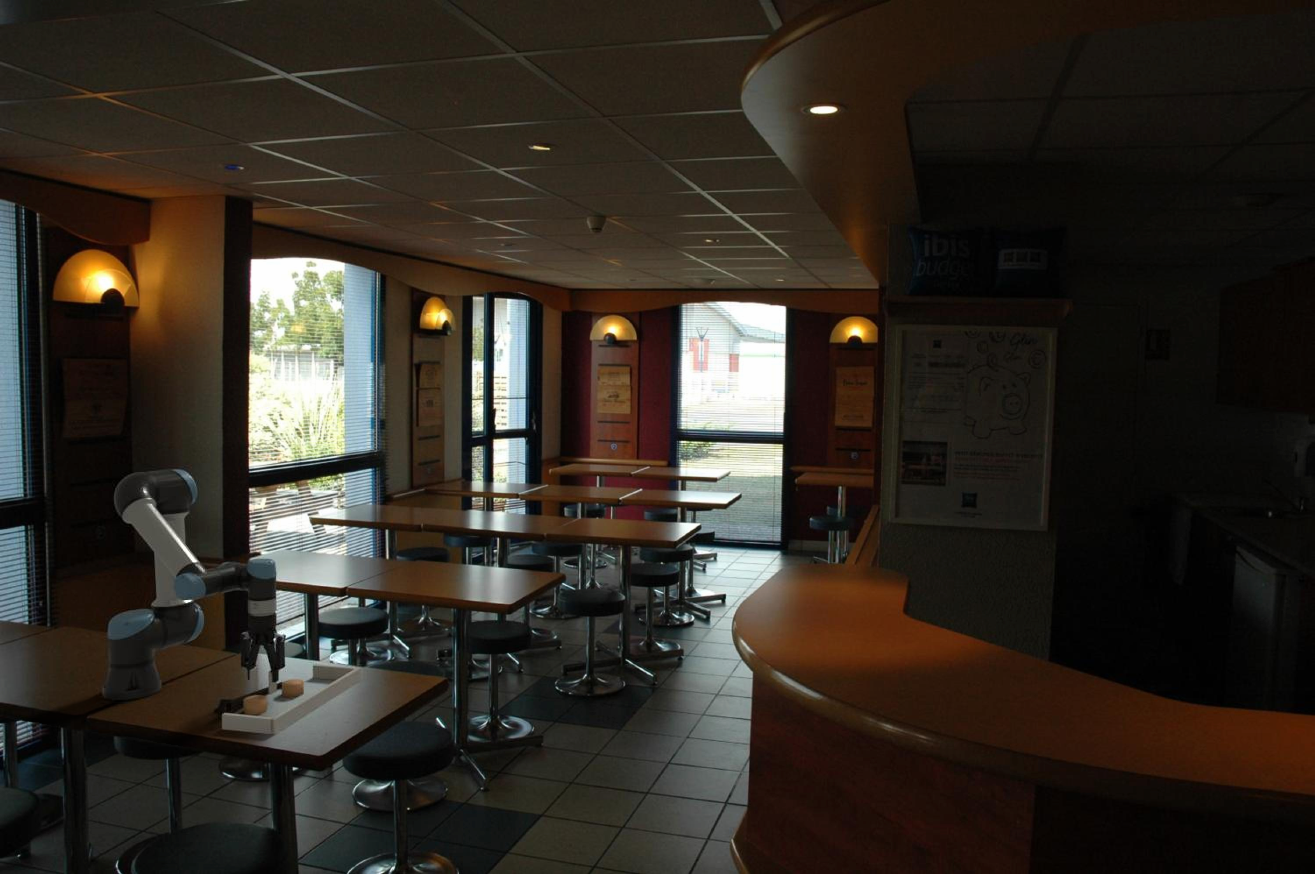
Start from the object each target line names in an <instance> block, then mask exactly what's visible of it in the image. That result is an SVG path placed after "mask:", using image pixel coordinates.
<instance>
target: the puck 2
mask: <svg viewBox="0 0 1315 874" xmlns="http://www.w3.org/2000/svg"><path fill="white" fill-rule="evenodd" d="M282 682H283V683H282V688H281V696H282V698H287V699H288V698H289V699H291V698H292V697H293V698H296V697H297V698H298V697H300V696H301V697H302V696H303V694H304V693H305V689H304V688H305V687H304V686H305V685H304V680H303V679H299V678H298V679H297V678H296V679H295V678H294V679H287V680H285V681H282Z"/></svg>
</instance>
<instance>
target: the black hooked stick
mask: <svg viewBox="0 0 1315 874" xmlns="http://www.w3.org/2000/svg"><path fill="white" fill-rule="evenodd" d="M283 682H284V681H281V682H277V690H280V689H282V683H283ZM254 695H263V696H266V695H269V686H267V687H264V688H261V689H258V690H256V691H254V692H252V693H250V692H249V693H246V694H244V695H241V696H239V697H235V698H232V699H231V698H230V699H229V698H228V699H227V698H226V699H225V698H223V699H222V698H221V699H220V701H219V702H218V703H219V704H218V706H217V707H216V708H214V710H213V712H212V713H213V714H218V715H219V717H220V718H221V719H222V714H224V713H231V714H233V713H234V712H235V711H234V710H237V709H238V708H240V707H243V706H244V705H243V700H244V699H245V698H247V697H250V696H254Z"/></svg>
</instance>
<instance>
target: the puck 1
mask: <svg viewBox="0 0 1315 874" xmlns="http://www.w3.org/2000/svg"><path fill="white" fill-rule="evenodd" d="M242 706H243V715H251V716H258V715H261V714H263V713H266V712H267V711H268V697H267V696H266V695H264V696H263V695H254V696H250V697H247V698H245V699H244V700H243V705H242Z"/></svg>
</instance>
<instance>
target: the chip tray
mask: <svg viewBox="0 0 1315 874" xmlns="http://www.w3.org/2000/svg"><path fill="white" fill-rule="evenodd" d="M361 671H362V669H361V667H353V666H342V665H341V666H340V665H329V664H328V665H327V664H315V663H314V664H312V678H313V679H322V680H334V681H332V682H331V683H329V684H327V685H326V686H324V687H323V688H320V689H319V690H317V691H316V692H314V693H312V694H311V695H309V696H307V697H306V698H304V699H302V700H300V701H299V702H297V703H295V704H294V705H292V706H291V707H289V708H287V709H286V710H284V711H282V712H281V713H279V714H277V715H276V716H274V717H271V716H260V715H246V714H239V713H224V714H222V718H221V730H225V731H228V730H229V731H234V732H235V731H237V732H247V733H255V734H256V733H257V734H263V735H264V734H267V735H277V734H278V733H280V732H282V731H283V730H285V729H286V728H288V727H289V726H291V725H293V724H294V723H296V722H297V721H299V720H300V719H302V718H304V717H305V716H307V715H308V714H310V713H312V712H314V711H315V710H316V709H318V708H319V707H321V706H323V705H325V704H326V703H327V701H328V702H329V701H331V700H333V699H334V698H335V697H337V696H339V695H340V694H342V693H343V692H345V691H347V690H349V689H350V688H351V687H353V686H355V685H356V684H358V683H359V682H361V681H362V675H361V674H362V672H361ZM311 711H312V712H311Z"/></svg>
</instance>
